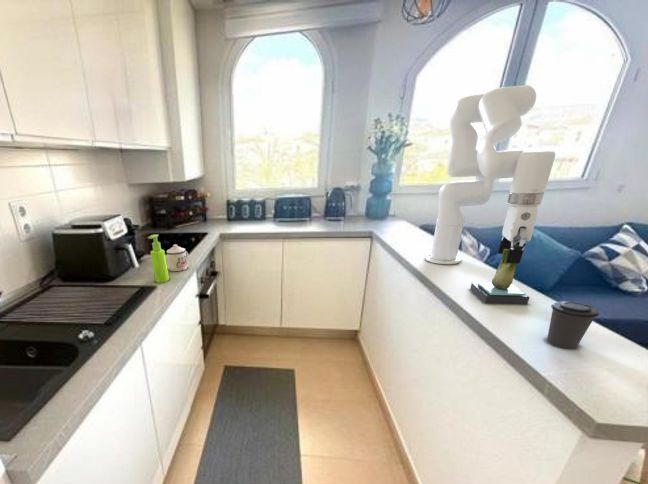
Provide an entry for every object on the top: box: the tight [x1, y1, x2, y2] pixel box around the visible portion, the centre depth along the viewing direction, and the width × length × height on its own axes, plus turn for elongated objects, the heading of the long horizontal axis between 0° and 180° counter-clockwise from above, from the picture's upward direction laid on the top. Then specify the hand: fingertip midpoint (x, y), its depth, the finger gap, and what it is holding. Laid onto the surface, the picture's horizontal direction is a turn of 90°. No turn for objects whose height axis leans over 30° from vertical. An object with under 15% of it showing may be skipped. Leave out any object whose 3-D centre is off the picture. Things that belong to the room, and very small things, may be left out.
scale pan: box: [477, 282, 527, 296], centre depth 107 cm, size 10×9×1 cm
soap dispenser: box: [147, 234, 170, 284], centre depth 146 cm, size 6×7×20 cm
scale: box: [469, 281, 530, 306], centre depth 108 cm, size 12×11×3 cm
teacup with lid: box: [165, 243, 189, 272], centre depth 163 cm, size 12×9×12 cm
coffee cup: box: [546, 301, 600, 350], centre depth 80 cm, size 8×8×10 cm
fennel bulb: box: [491, 249, 517, 289], centre depth 104 cm, size 6×5×12 cm
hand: (508, 258), depth 103 cm, fingers open, 9 cm apart
